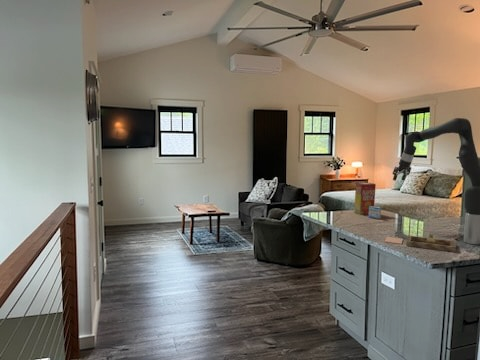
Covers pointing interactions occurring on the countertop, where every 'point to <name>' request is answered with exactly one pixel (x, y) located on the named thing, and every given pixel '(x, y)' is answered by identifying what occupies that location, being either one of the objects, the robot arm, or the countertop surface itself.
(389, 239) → the mat
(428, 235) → the lever cap
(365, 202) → the food packaging
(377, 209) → the medicine box
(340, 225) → the countertop surface
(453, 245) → the open wooden frame
